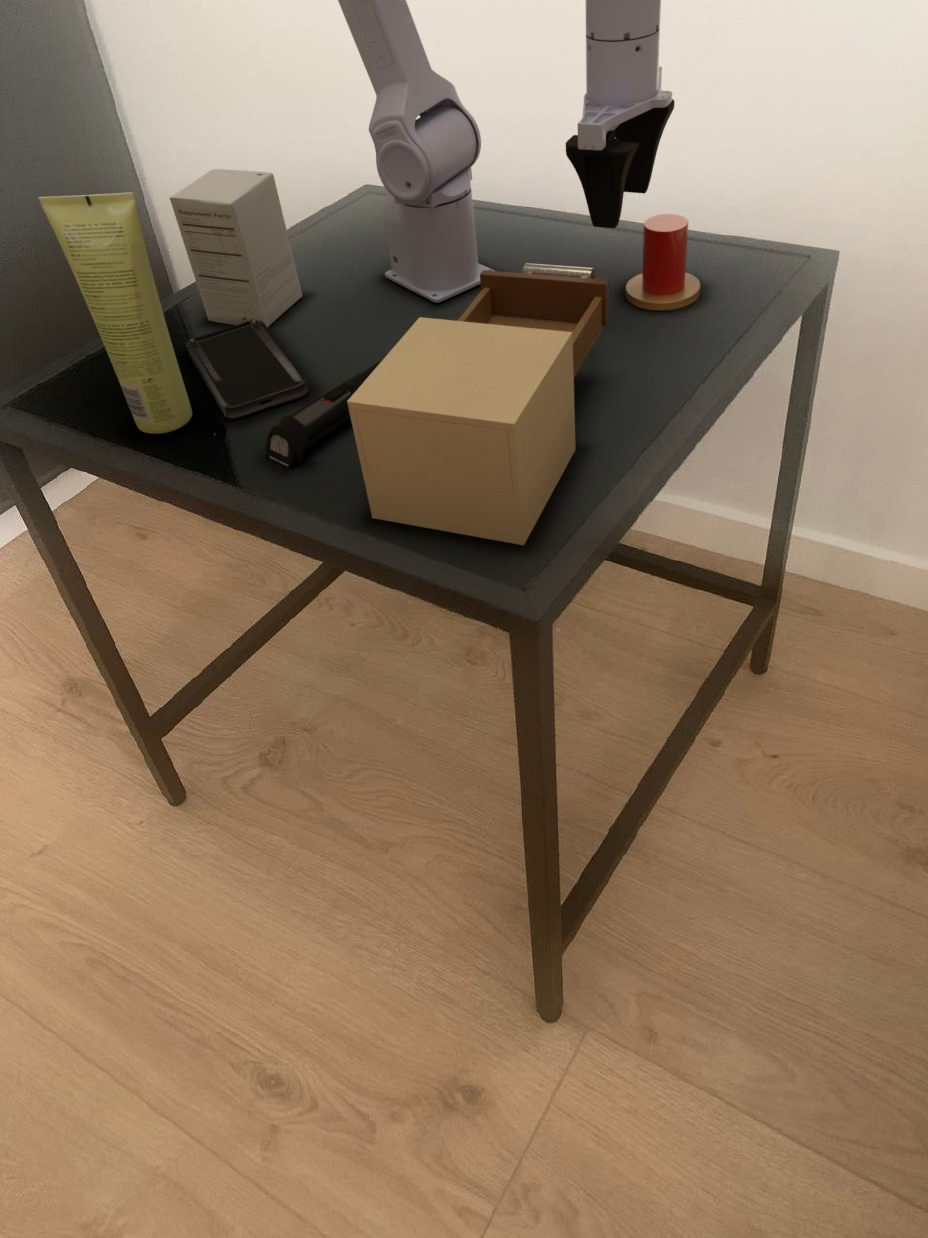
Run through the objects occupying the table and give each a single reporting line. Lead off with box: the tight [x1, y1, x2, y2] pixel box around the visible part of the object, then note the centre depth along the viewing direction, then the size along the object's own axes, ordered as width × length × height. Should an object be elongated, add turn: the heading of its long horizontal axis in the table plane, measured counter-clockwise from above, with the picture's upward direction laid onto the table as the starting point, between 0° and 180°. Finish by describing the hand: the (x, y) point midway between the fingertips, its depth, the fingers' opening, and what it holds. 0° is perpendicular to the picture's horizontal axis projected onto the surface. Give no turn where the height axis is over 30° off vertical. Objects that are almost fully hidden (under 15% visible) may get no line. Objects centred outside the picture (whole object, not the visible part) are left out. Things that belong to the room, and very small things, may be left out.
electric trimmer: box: [265, 358, 384, 467], centre depth 80 cm, size 4×16×3 cm, turn 139°
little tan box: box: [347, 316, 577, 546], centre depth 69 cm, size 12×12×10 cm
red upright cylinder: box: [641, 213, 689, 295], centre depth 89 cm, size 4×4×6 cm
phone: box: [185, 320, 309, 420], centre depth 88 cm, size 8×1×15 cm
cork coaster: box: [625, 271, 701, 312], centre depth 91 cm, size 7×7×1 cm
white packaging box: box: [169, 168, 303, 329], centre depth 94 cm, size 7×7×13 cm
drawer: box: [456, 262, 609, 378], centre depth 77 cm, size 16×11×4 cm
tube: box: [38, 191, 193, 435], centre depth 77 cm, size 6×5×20 cm
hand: (620, 208), depth 84 cm, fingers open, 7 cm apart
